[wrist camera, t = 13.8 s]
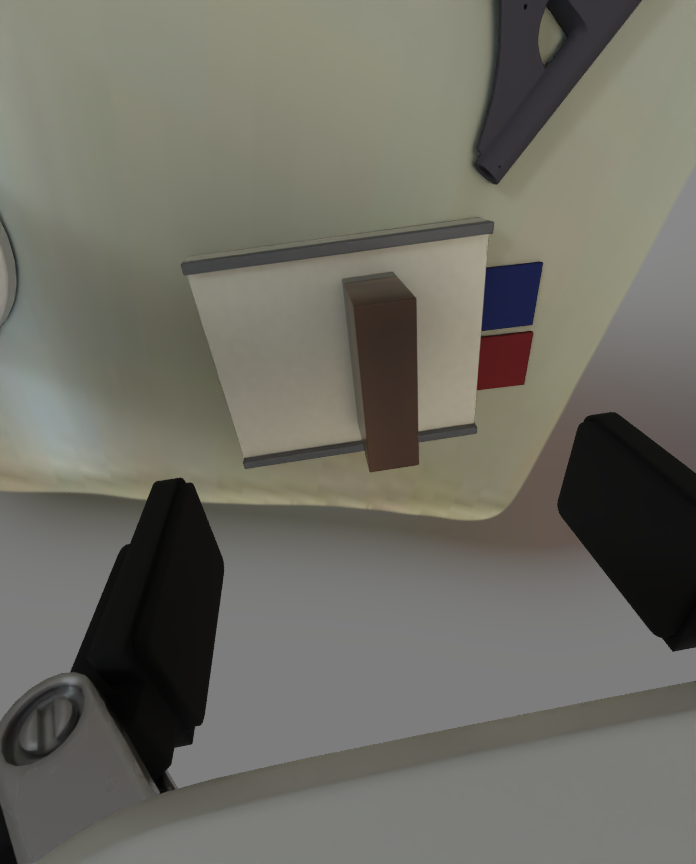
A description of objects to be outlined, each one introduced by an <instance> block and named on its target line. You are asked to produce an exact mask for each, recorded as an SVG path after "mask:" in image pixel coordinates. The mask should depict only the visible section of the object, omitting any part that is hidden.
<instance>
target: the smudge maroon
mask: <svg viewBox="0 0 696 864" xmlns="http://www.w3.org/2000/svg"><path fill="white" fill-rule="evenodd" d="M532 338H533V332H532V331H528V332H519V333H510V334H502V335H493V336H484V337H481V339H480V352H479V365H478V378H477V390H482V389H491V388H499V387H507V386H516V385H524V382H525V376H526V371H527V365H528V360H529V354H530V349H531V343H532Z"/></svg>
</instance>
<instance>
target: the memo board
mask: <svg viewBox="0 0 696 864" xmlns="http://www.w3.org/2000/svg"><path fill="white" fill-rule="evenodd" d="M493 229H494V222H493V221H490V220H486V219H483V218H480V217H478V218H471V219H463V220H456V221H448V222H441V223H434V224H426V225H419V226H411V227H404V228H397V229H389V230H382V231H374V232H367V233H360V234H352V235H345V236H337V237H330V238H323V239H315V240H308V241H300V242H293V243H286V244H278V245H271V246H263V247H256V248H249V249H241V250H234V251H226V252H219V253H212V254H204V255H197V256H189V257H188V258H187V259H186V260H185V261H184V262H183V263H182V264H181V268H182V271H183V274H184V275H187V277H188V280H189V283H190V286H191V290H192V293H193V296H194V299H195V302H196V306H197V309H198V312H199V315H200V318H201V322H202V325H203V328H204V331H205V334H206V338H207V341H208V344H209V347H210V350H211V354H212V357H213V360H214V363H215V367H216V370H217V373H218V376H219V379H220V383H221V386H222V389H223V392H224V395H225V399H226V402H227V405H228V408H229V411H230V415H231V418H232V421H233V424H234V427H235V431H236V434H237V437H238V440H239V444H240V447H241V450H242V453H243V456H244V461H243V464H244V467H245V469H248V468H254V467H261V466H267V465H274V464H280V463H287V462H294V461H300V460H307V459H313V458H320V457H326V456H333V455H339V454H346V453H352V452H359V451H364V447H363V443H362V439H361V435H360V430H359V426H358V421H357V412H356V403H355V394H354V385H353V376H352V367H351V358H350V349H349V340H348V331H347V322H346V313H345V304H344V295H343V286H342V279H343V278H350V277H357V276H364V275H371V274H379V273H386V272H394V273H395V275H396V276H397V277H398V278H399V279H400V280H401V281H402V282H403V284H404V285H405V286H406V287H407V288H408V289H409V290H410V291H411V293H412V294H413V295H414V296H415V297H416V299H417V365H418V439H419V442H424V441H431V440H438V439H444V438H451V437H457V436H464V435H470V434H476V433H477V426H476V425H475V423H474V417H475V404H476V391H477V378H478V365H479V352H480V339H481V326H482V313H483V300H484V287H485V274H486V261H487V248H488V235H489V234H492V233H493Z"/></svg>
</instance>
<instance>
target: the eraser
mask: <svg viewBox="0 0 696 864" xmlns="http://www.w3.org/2000/svg"><path fill="white" fill-rule="evenodd" d="M342 286H343V295H344V304H345V313H346V322H347V331H348V340H349V349H350V358H351V367H352V376H353V385H354V394H355V403H356V412H357V421H358V426H359V430H360V435H361V439H362V443H363V447H364V451H365V455H366V459H367V463H368V467H369V471H370V472H376V471H382V470H388V469H395V468H401V467H408V466H414V465H419V439H418V365H417V299H416V297H415V296H414V295H413V294H412V293H411V291H410V290H409V289H408V288H407V287H406V286H405V285H404V284H403V282H402V281H401V280H400V279H399V278H398V277H397V276H396V275H395V273H394V272H386V273H379V274H371V275H364V276H357V277H350V278H343V279H342Z"/></svg>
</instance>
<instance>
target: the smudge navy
mask: <svg viewBox="0 0 696 864" xmlns="http://www.w3.org/2000/svg"><path fill="white" fill-rule="evenodd" d="M542 266H543V262H534V263H525V264H516V265H507V266H498V267H490V268H486V274H485V287H484V300H483V313H482V326H481V331H486V330H494V329H502V328H511V327H519V326H527V325H532V324H533V318H534V312H535V307H536V301H537V295H538V289H539V283H540V277H541V272H542Z"/></svg>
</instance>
